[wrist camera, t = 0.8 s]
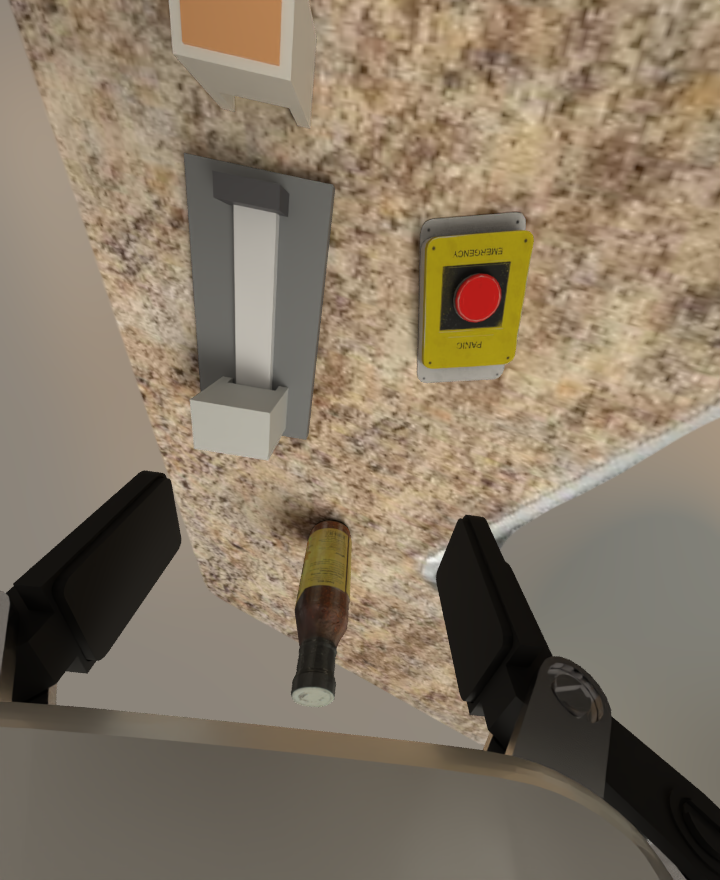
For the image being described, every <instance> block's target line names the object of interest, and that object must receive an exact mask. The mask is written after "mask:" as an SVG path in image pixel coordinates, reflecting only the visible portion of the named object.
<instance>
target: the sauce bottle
mask: <svg viewBox="0 0 720 880" xmlns="http://www.w3.org/2000/svg"><path fill="white" fill-rule="evenodd" d="M351 549H352V542H351V535H350V532H349V530H348V528H347V527H346V526H345V525H344V524H342V523H339V522H337V521H329V520H328V521H323V522H321V523H318V524H317V525H315V526H314V527H313V529H312V531H311V533H310V537H309V539H308V543H307V548H306V554H305V559H304V564H303V569H302V575H301V579H300V585H299V590H298V595H297V601H296V606H295V617H296V624H297V631H298V639H299V646H300V649H299V659H298V665H297V672H296V675H295V677H294V679H293V682H292V691H291V696H292V699H293V700H294V701H295V702H296V703H298V704H300V705H304V706H309V707H321V706H325V705H328V704H330V703H331V702H332V701H333V700H334V696H335V687H336V682H335V678H334V668H335V657H336V654H337V651H336V649H337V646H338V643H339V641H340V639H341V638H342V637H343V635H344V633H345V632H346V630H347V624H348V610H349V603H350V579H351Z"/></svg>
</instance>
